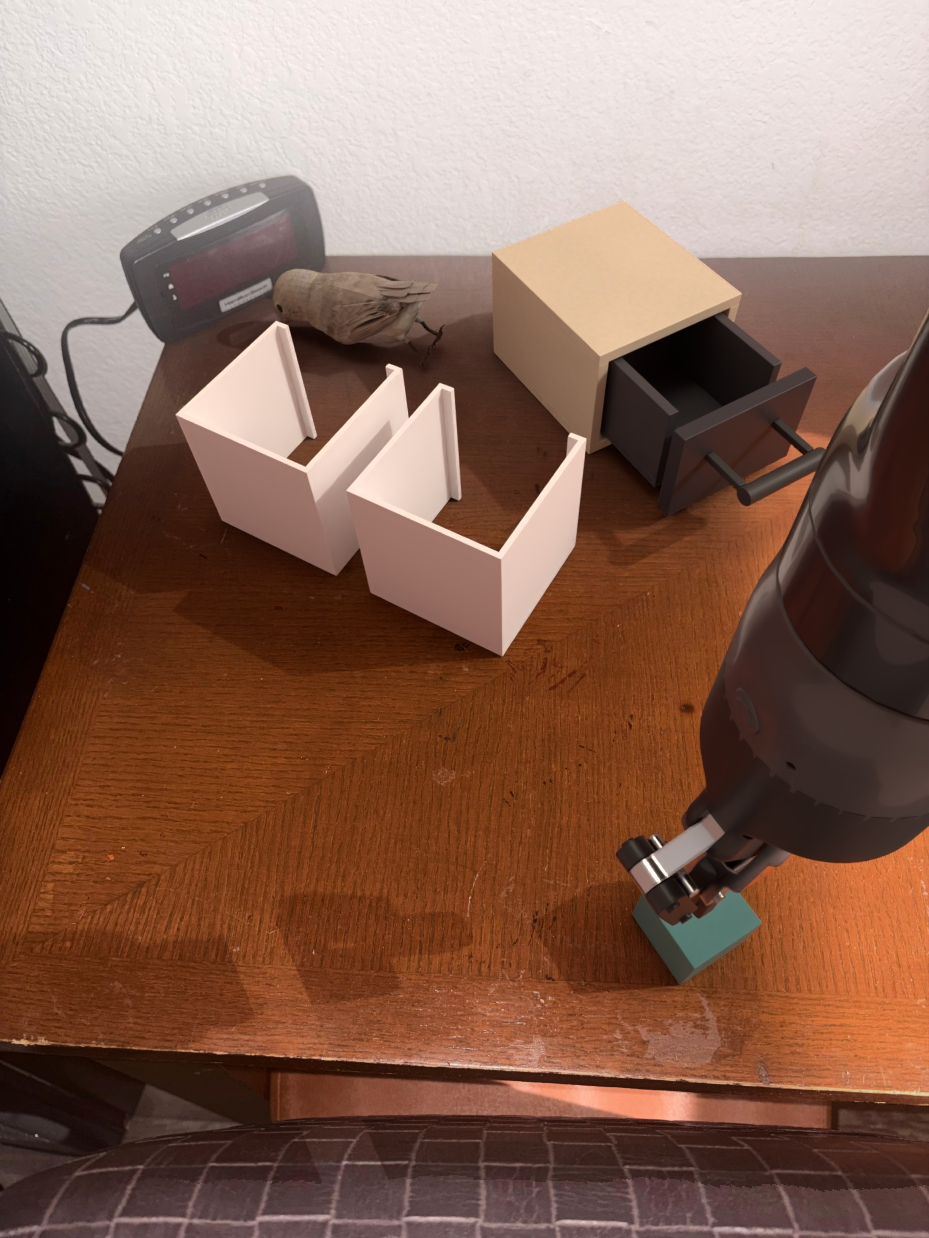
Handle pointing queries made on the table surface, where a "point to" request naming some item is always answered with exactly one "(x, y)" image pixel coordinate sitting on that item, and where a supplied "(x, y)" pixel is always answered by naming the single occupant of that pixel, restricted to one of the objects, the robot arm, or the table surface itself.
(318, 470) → the white desk organizer
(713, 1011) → the table surface
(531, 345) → the beige hollow box
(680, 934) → the block
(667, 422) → the drawer
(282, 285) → the decorative bird
